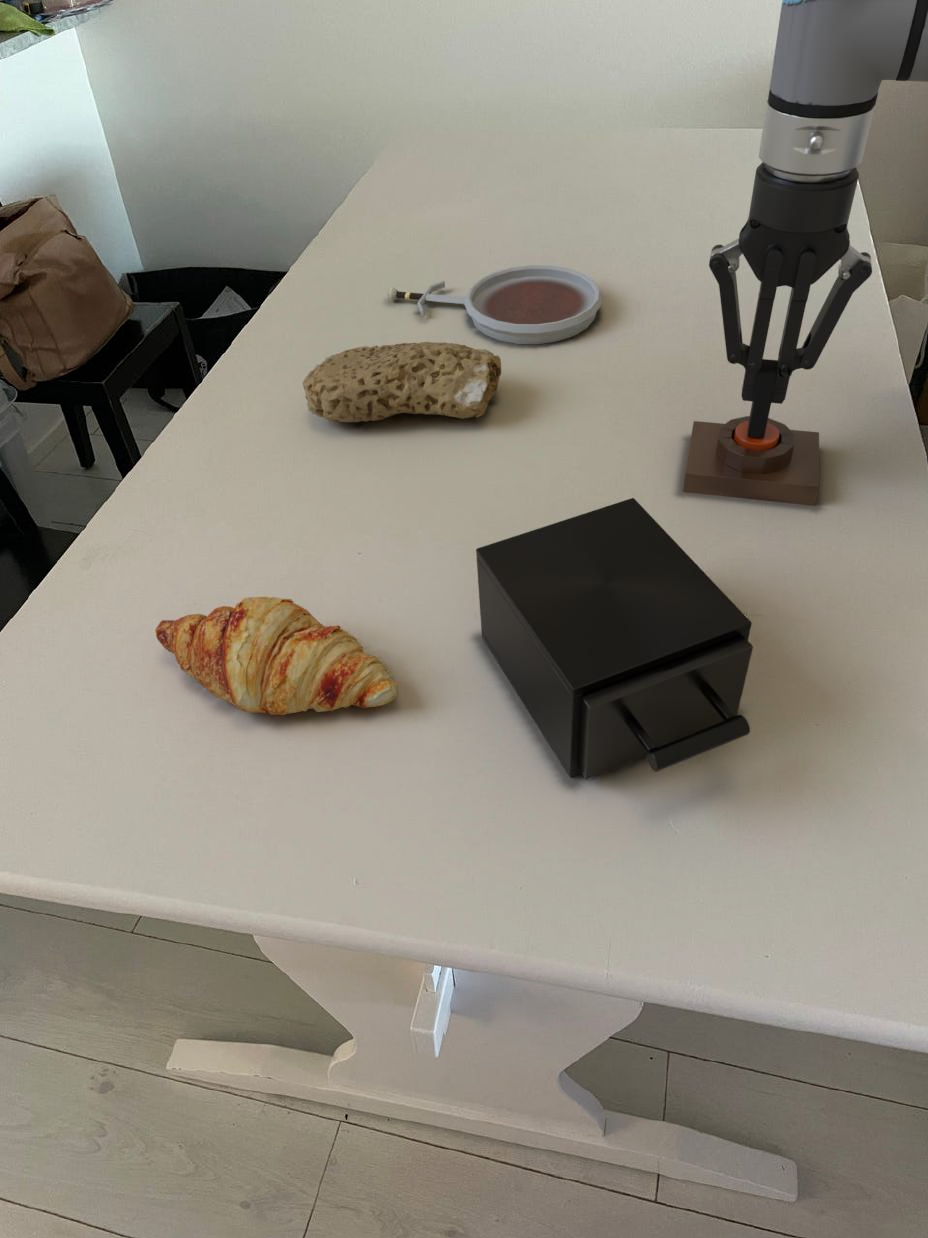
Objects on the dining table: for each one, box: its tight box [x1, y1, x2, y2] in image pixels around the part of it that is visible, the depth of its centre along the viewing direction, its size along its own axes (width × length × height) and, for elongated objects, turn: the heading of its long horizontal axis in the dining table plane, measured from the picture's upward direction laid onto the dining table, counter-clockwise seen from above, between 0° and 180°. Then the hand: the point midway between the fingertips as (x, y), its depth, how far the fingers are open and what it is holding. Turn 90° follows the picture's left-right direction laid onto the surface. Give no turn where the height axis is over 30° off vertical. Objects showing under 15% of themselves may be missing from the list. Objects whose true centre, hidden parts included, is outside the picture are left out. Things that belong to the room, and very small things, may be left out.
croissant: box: [154, 596, 399, 716], centre depth 73 cm, size 21×10×8 cm, turn 71°
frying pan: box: [386, 264, 603, 345], centre depth 116 cm, size 17×3×28 cm
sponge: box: [302, 341, 502, 423], centre depth 99 cm, size 13×8×20 cm
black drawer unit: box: [475, 497, 752, 778], centre depth 69 cm, size 16×14×10 cm
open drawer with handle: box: [578, 635, 754, 780], centre depth 67 cm, size 19×12×8 cm, turn 23°
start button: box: [734, 421, 779, 451], centre depth 88 cm, size 4×4×2 cm
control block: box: [682, 415, 820, 507], centre depth 89 cm, size 12×9×4 cm
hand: (756, 429), depth 87 cm, fingers closed
